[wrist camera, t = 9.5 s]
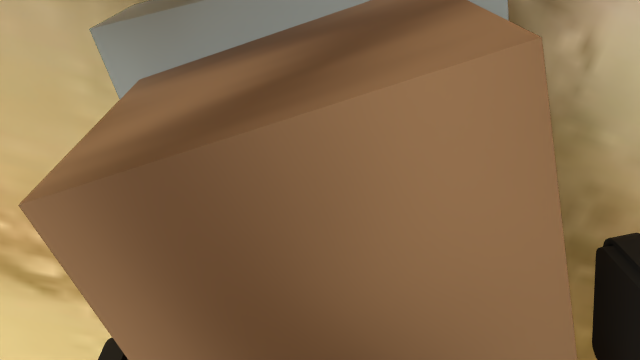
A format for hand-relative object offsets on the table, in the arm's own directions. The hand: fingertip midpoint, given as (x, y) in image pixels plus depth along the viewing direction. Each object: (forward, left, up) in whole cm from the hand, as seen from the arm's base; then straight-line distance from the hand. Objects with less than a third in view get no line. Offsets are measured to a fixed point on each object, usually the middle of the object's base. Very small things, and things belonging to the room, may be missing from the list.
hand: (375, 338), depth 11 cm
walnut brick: (0, 0, -2) cm, 2 cm away
